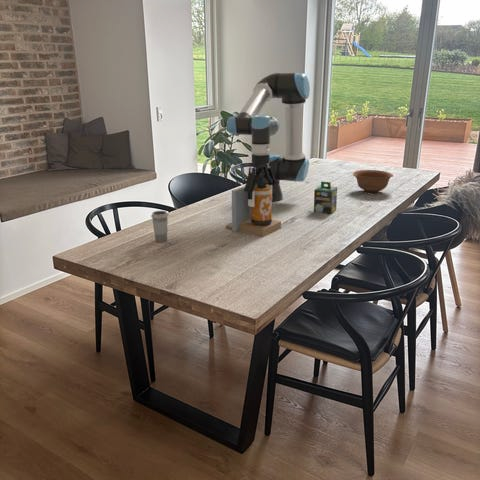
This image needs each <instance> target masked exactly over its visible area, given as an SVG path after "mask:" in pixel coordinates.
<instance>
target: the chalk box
mask: <svg viewBox="0 0 480 480" xmlns="http://www.w3.org/2000/svg"><path fill="white" fill-rule="evenodd" d="M337 194H338V187H337V186H332V185H331V182H330V181H329V182H327V181H321V183H320V185H319V186H317V187H316V188H315V189H314V195H313V198H314V199H313V212H314V213H321V214H327V215H328V214H329V215H331V214H333V213H334V212H335V211H336V210H337V205H338V204H337V200H338V195H337Z"/></svg>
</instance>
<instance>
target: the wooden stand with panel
mask: <svg viewBox="0 0 480 480" xmlns="http://www.w3.org/2000/svg"><path fill="white" fill-rule="evenodd" d="M244 188H245V186H242V187H239V188H234V189H233V190H231V222H230V223H228V224H226V225H225V229H229V230H231V231H232V232H234V233H236V232H238V231H239V232H243V233H248V234H251V235H256V236H260V237H265V236H268V235H269V234H272V233H273V232H274V233H275V232H276V231H277V230H280V229H281V228H282V221H280V220H275V219H272V222H271V223H269V224H267V225H256V224H254V223H252V222H251V219H252V218H251V207H250V206H248V192H247V191H245V190H244Z"/></svg>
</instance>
